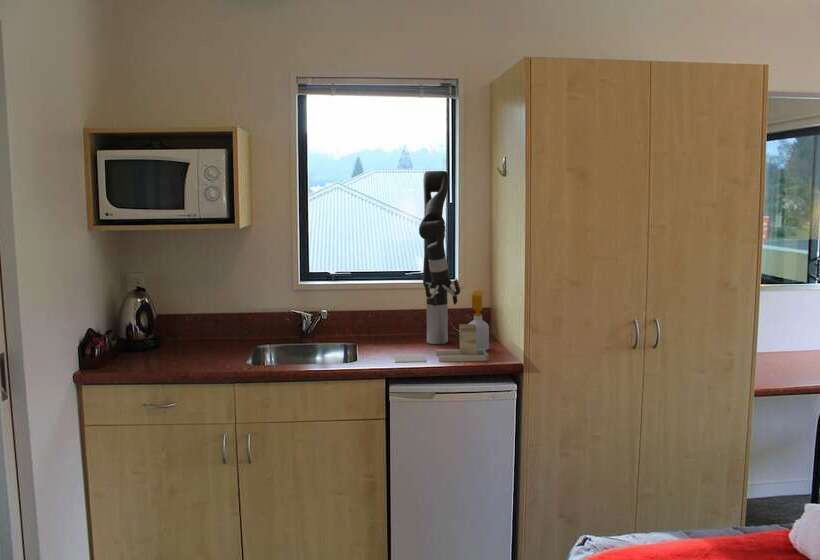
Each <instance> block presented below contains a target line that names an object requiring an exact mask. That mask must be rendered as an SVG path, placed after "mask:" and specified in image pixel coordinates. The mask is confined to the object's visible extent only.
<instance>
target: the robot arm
mask: <svg viewBox="0 0 820 560" xmlns="http://www.w3.org/2000/svg"><path fill="white" fill-rule="evenodd" d="M449 178H450V177H449V173H448V172H447V171H446V170H445V171H444V170H427V171H426V170H425V171H424V173H423V180H422V181H423V184H422V185H423V203H424V211H423V214H424V215H423V218H422V220H421V222H420V224H419V227H418V233H419V236H420V238H421V239H423V246H424V247H423V251H424V252H423V253H424V255H423V270H422V284H423V287H424V288H425V289H424V290H425V296H426V343H427V344H429V345H444V344H447V343H448V341H449V339H448V337H449V336H448V335H449V334H448V332H449V331H448V328H449V327H448V325H449V324H448V320H449V319H448V293H449V294H450V295H451V296H452V302H453V305H455V306H456V305H457V303H458V296H459V295H460V293H461V288H460V284H459V280H458V279H457V278H456V279H455V280H451V278H450V271H449V266H448V261H447V257H446V251H445V250H446V249H445V236H446V222H445V219H444V218H443V213H444V212H443V211H444V205H445V201H446V198H447V195H448V191H449V186H450V179H449ZM432 193H436V194H434V196H433V197H432ZM451 285H453V286H454V288H453V287H452V286H451ZM431 289H433V291H432V292H431ZM454 289H455V290H454Z"/></svg>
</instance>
